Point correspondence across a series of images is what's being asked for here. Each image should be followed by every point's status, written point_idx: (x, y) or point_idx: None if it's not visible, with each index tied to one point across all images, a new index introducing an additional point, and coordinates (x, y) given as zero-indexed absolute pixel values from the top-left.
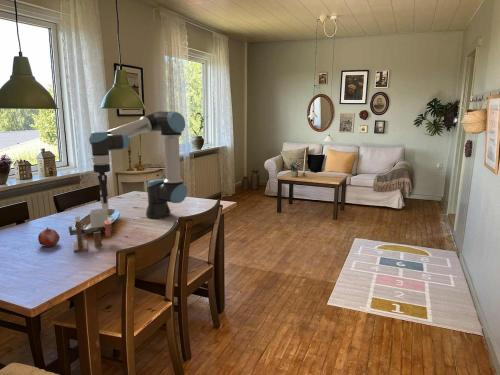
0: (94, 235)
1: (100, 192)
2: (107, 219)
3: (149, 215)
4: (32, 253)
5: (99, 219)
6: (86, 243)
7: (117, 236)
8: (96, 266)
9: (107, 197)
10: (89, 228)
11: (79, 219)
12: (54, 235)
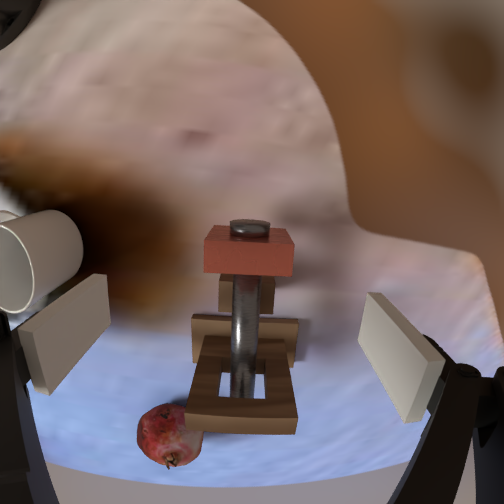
0: (272, 310)
1: (58, 379)
2: (36, 217)
3: (9, 34)
4: (231, 450)
5: (54, 263)
6: None
7: (170, 178)
8: (450, 298)
9: (435, 353)
10: (248, 344)
11: (252, 419)
12: (189, 434)
